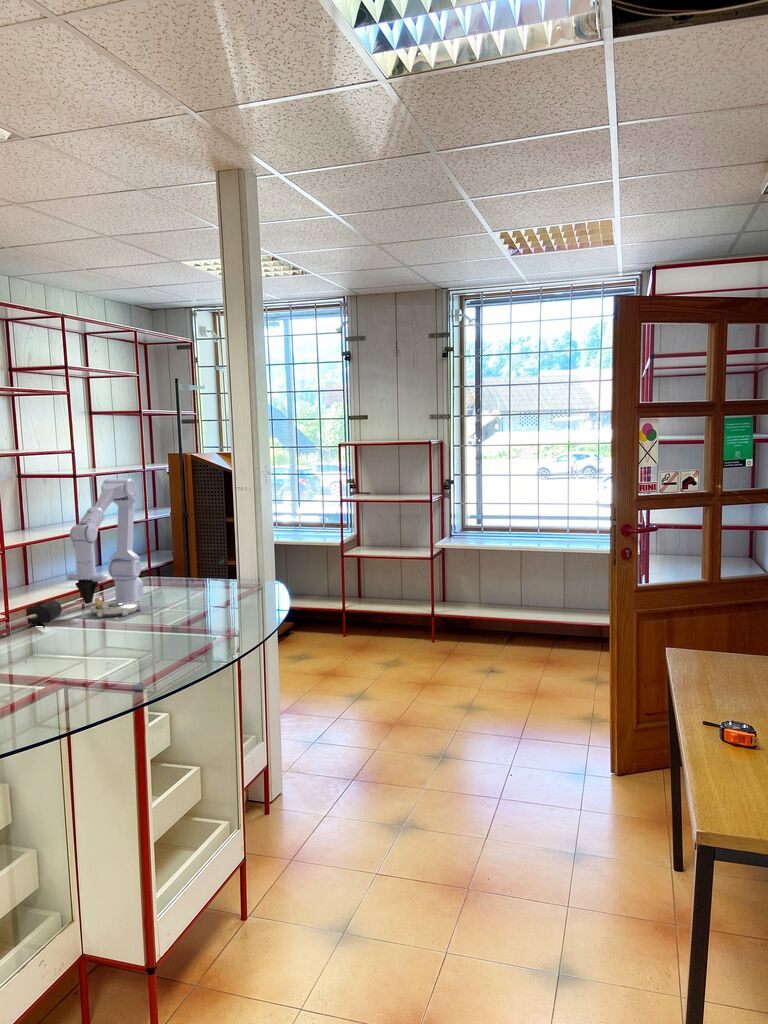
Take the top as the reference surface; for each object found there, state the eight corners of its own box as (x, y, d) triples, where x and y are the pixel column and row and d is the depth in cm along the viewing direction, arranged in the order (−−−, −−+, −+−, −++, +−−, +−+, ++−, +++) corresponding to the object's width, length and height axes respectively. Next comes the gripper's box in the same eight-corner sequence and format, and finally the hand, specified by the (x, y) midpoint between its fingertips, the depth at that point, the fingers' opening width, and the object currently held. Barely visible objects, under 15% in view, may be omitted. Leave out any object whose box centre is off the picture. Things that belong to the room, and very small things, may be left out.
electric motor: (51, 627, 226) (49, 606, 225) (27, 628, 225) (25, 607, 224) (62, 619, 236) (61, 599, 235) (40, 620, 235) (38, 600, 234)
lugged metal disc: (129, 603, 247) (128, 588, 246) (147, 611, 235) (146, 595, 235) (86, 611, 238) (85, 595, 237) (102, 619, 226) (101, 603, 225)
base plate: (113, 608, 249) (113, 603, 249) (161, 611, 243) (161, 606, 242) (70, 622, 231) (69, 617, 231) (121, 626, 224) (120, 621, 224)
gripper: (58, 562, 232) (61, 604, 233) (94, 564, 227) (97, 606, 228) (74, 559, 238) (77, 599, 240) (110, 560, 233) (113, 602, 235)
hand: (88, 603), depth 234 cm, fingers closed
